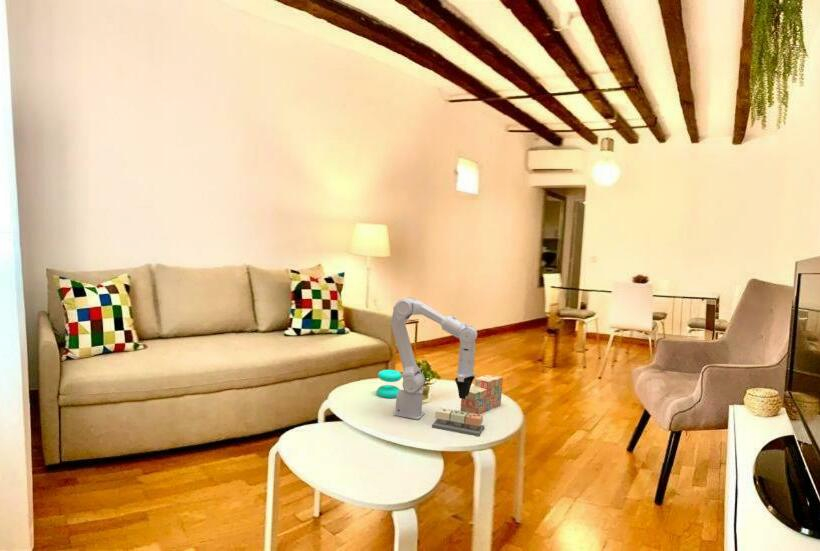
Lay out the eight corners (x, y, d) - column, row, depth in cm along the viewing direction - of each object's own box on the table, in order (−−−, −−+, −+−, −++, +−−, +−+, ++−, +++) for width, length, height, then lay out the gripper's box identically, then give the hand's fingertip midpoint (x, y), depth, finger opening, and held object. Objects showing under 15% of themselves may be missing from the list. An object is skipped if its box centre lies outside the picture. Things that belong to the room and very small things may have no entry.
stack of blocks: (473, 417, 195) (476, 385, 194) (459, 413, 199) (462, 381, 198) (500, 406, 212) (503, 376, 211) (487, 402, 215) (489, 373, 215)
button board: (431, 427, 180) (432, 419, 180) (438, 419, 189) (439, 411, 189) (479, 436, 175) (479, 427, 175) (484, 428, 183) (484, 420, 183)
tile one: (435, 418, 182) (435, 410, 182) (439, 414, 187) (439, 406, 186) (448, 420, 180) (449, 413, 180) (452, 416, 185) (453, 409, 185)
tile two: (450, 420, 180) (450, 413, 180) (453, 416, 185) (454, 409, 185) (464, 423, 178) (464, 415, 178) (467, 419, 183) (467, 411, 183)
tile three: (465, 423, 178) (466, 416, 178) (468, 419, 183) (469, 412, 183) (479, 426, 177) (480, 418, 176) (482, 421, 181) (483, 414, 181)
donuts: (385, 367, 221) (406, 371, 217) (383, 390, 222) (404, 394, 218) (374, 372, 212) (395, 376, 208) (372, 395, 213) (393, 400, 209)
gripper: (472, 365, 177) (469, 404, 178) (481, 357, 191) (478, 393, 191) (453, 362, 179) (450, 400, 180) (463, 355, 193) (460, 390, 194)
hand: (463, 396), depth 186 cm, fingers open, 4 cm apart
